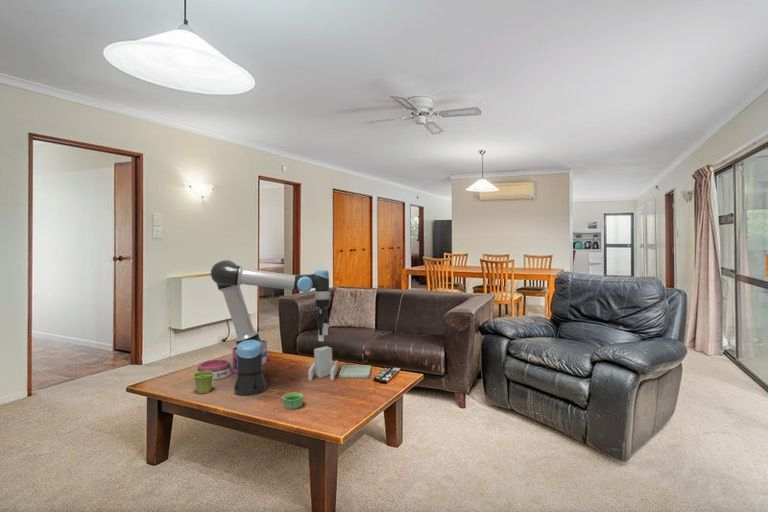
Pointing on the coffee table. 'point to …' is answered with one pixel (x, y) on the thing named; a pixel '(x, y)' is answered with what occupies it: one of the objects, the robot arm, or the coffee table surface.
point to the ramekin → (292, 400)
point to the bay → (332, 372)
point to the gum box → (264, 356)
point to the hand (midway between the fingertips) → (323, 338)
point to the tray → (355, 371)
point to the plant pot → (203, 381)
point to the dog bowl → (216, 368)
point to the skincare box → (323, 361)
